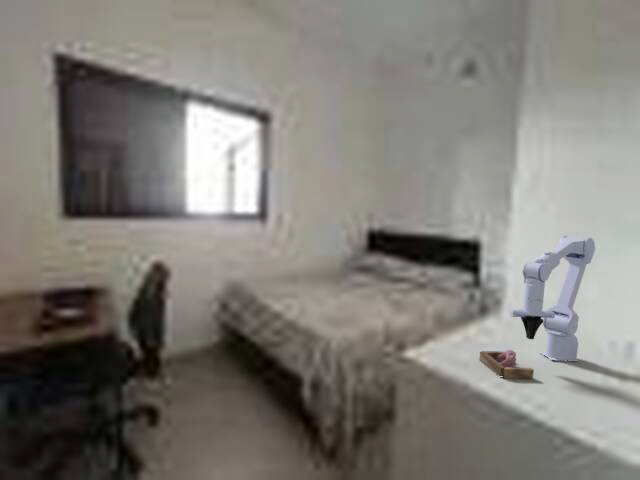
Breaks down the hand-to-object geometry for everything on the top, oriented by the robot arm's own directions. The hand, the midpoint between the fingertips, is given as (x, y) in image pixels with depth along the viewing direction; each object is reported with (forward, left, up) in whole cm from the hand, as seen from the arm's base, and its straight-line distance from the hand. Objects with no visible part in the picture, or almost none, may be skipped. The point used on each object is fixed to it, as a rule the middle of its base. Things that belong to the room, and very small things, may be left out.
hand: (529, 338), depth 145 cm
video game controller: (+9, +2, -10) cm, 13 cm away
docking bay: (+10, +4, -9) cm, 14 cm away
